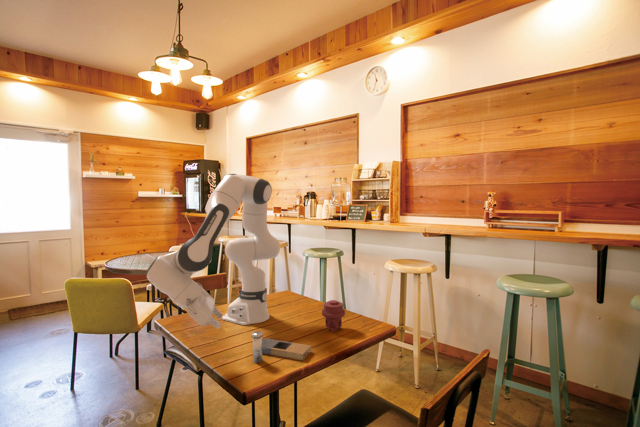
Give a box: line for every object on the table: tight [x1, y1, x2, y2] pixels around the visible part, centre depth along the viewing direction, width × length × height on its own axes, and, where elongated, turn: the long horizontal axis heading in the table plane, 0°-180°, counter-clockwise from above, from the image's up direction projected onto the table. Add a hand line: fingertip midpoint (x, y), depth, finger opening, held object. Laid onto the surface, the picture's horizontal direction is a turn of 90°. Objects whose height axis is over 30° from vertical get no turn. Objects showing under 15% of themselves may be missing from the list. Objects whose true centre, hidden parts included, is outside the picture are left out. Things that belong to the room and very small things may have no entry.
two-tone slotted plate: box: [262, 337, 312, 362], centre depth 124 cm, size 20×7×2 cm, turn 69°
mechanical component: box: [321, 299, 346, 333], centre depth 145 cm, size 12×10×10 cm
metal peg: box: [250, 330, 264, 364], centre depth 117 cm, size 4×4×10 cm
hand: (220, 321), depth 114 cm, fingers open, 8 cm apart
